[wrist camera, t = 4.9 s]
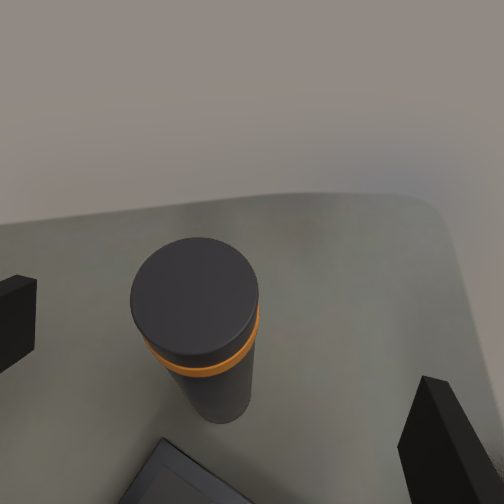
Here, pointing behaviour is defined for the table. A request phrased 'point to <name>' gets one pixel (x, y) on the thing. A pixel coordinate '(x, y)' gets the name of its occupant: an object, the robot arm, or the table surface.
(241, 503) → the tablet
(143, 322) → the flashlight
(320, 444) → the table surface
